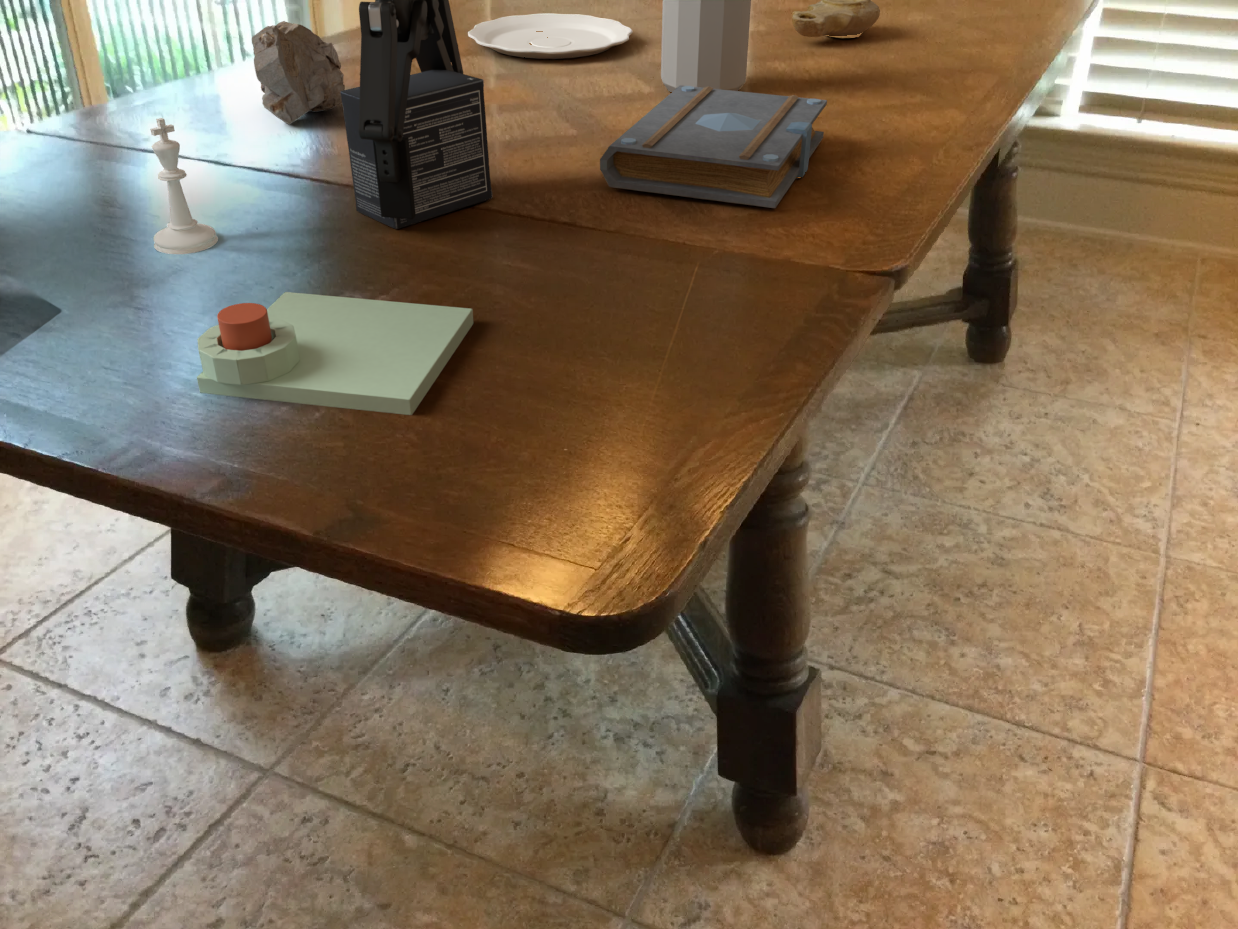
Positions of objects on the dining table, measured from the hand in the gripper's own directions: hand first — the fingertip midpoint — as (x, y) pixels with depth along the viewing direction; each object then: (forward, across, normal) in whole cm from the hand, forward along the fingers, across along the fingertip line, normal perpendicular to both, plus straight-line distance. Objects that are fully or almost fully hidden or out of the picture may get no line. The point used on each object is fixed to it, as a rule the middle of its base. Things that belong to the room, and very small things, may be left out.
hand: (423, 191), depth 100 cm
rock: (+1, -23, -21) cm, 31 cm away
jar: (+1, -42, +19) cm, 46 cm away
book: (+1, -16, +24) cm, 29 cm away
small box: (+2, 0, 0) cm, 2 cm away
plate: (+1, -59, -3) cm, 59 cm away
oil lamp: (+1, -70, +33) cm, 77 cm away
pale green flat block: (+1, +28, +4) cm, 28 cm away
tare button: (-1, +32, 0) cm, 32 cm away
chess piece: (+2, +12, -16) cm, 20 cm away
